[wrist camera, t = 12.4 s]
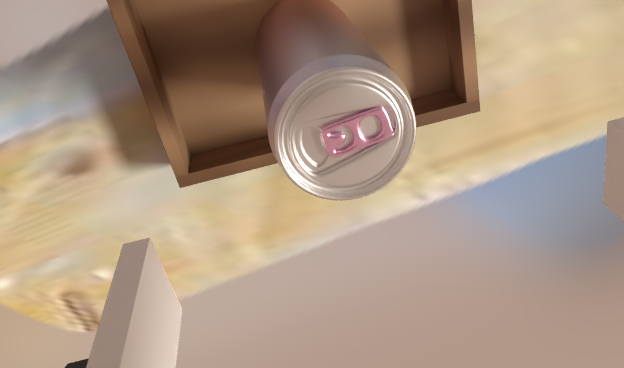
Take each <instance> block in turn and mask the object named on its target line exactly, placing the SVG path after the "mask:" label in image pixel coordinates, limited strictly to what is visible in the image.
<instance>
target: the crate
mask: <svg viewBox="0 0 624 368" xmlns="http://www.w3.org/2000/svg"><path fill="white" fill-rule="evenodd" d="M280 1H282V0H107V3H108V5H109V8H110V10H111V13H112V16H113V18H114V21H115V23H116V26H117V28H118V31H119V33H120V36H121V39H122V41H123V44H124V46H125V49H126V51H127V54H128V56H129V59H130V62H131V64H132V67H133V69H134V72H135V74H136V77H137V79H138V82H139V85H140V87H141V90H142V92H143V95H144V97H145V100H146V102H147V105H148V107H149V110H150V113H151V115H152V118H153V120H154V123H155V125H156V128H157V130H158V133H159V136H160V138H161V141H162V143H163V146H164V148H165V151H166V153H167V156H168V159H169V161H170V164H171V166H172V169H173V171H174V174H175V176H176V179H177V182H178V184H179V187H180V188H182V187H186V186H190V185H193V184H197V183H201V182H205V181H209V180H213V179H217V178H221V177H225V176H229V175H233V174H236V173H240V172H244V171H248V170H252V169H256V168H260V167H264V166H268V165H272V164H275V163H278V162H277V160H276V158H275V156H274V154H273V152H272V149H271V146H270V143H269V138H268V131H267V123H266V116H265V109H264V102H263V95H262V87H261V80H260V73H259V66H258V59H257V51H256V37H257V32H258V29H259V26H260V24H261V22H262V20H263V18H264V16H265V15H266V14H267V12H268V11H269V10H270V9H271V8H272V7H273V6H274V5H276V4H277V3H278V2H280ZM330 1H332V2H333V3H334V4H336V5H337V6H338V7H339V8H340V9H341V10H342V11H343V12H344V13H345V15H346V16H347V17H348V18H349V19H350V21H351V22H352V23H353V24H354V25H355V26H356V28H357V29H358V30H359V31H360V32H361V33H362V35H363V36H364V37H365V38H366V39H367V41H368V42H369V43H370V44H371V45H372V46H373V48H374V49H375V50H376V51H377V52H378V53H379V55H380V56H381V57H382V58H383V59H384V61H385V62H386V63H387V64H388V65H389V66H390V68H391V69H392V70H393V71H394V72H395V73H396V75H397V76H398V77H399V78H400V80H401V81H402V82H403V84H404V85H405V87H406V89H407V91H408V93H409V95H410V98H411V101H412V106H413V110H414V113H415V118H416V127H420V126H424V125H428V124H432V123H436V122H439V121H443V120H447V119H451V118H455V117H459V116H463V115H467V114H471V113H475V112H478V111H480V103H479V90H478V77H477V64H476V51H475V39H474V26H473V13H472V0H330Z"/></svg>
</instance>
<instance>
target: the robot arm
mask: <svg viewBox="0 0 624 368" xmlns="http://www.w3.org/2000/svg"><path fill="white" fill-rule="evenodd" d="M605 163H606V164H605V183H604V201H603V203H604V204H605V205H606V206H607V207H608V208H609V209H610V210H611V211H613V212H614V213H615V214H616V215H617V216H618V217H619V218H620V219H621V220H622V221H624V117H623V118H620V119H616V120H612V121H608V123H607V143H606V162H605ZM181 317H182V308H181V306H180V304H179V301H178V299H177V297H176V295H175V293H174V290H173V288H172V286H171V284H170V281H169V279H168V277H167V275H166V273H165V270H164V268H163V266H162V264H161V262H160V259H159V257H158V255H157V253H156V250H155V248H154V246H153V244H152V242H151V239H150V238H147V239H143V240H139V241H135V242H131V243H127V244H123V246H122V250H121V253H120V256H119V260H118V263H117V266H116V270H115V273H114V276H113V280H112V283H111V286H110V290H109V293H108V296H107V300H106V303H105V306H104V310H103V313H102V316H101V320H100V323H99V326H98V330H97V333H96V336H95V340H94V343H93V346H92V350H91V353H90V356H89V359H85V360H81V361H78V362H73V363H69V364H67V366H66V367H65V368H175V367H176V359H177V351H178V343H179V334H180V326H181Z"/></svg>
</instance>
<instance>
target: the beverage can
mask: <svg viewBox="0 0 624 368" xmlns="http://www.w3.org/2000/svg"><path fill="white" fill-rule="evenodd" d="M256 51H257V59H258V66H259V73H260V80H261V87H262V95H263V102H264V109H265V116H266V123H267V131H268V138H269V143H270V146H271V149H272V152H273V154H274V156H275V158H276V160H277V162H278V163H279V165H280V166H281V168H282V169H283V171H284V172H285V174H286V175H287V176H288V178H289V179H290V180H291V181H292V182H293V183H294V184H295V185H297V186H298V187H299V188H301V189H302V190H304V191H305V192H307V193H309V194H311V195H314V196H316V197H320V198H323V199H329V200H351V199H357V198H361V197H364V196H367V195H369V194H372V193H374V192H376V191H378V190H379V189H381V188H383V187H384V186H386V185H387V184H388V183H390V182H391V181H392V180H393V179H394V178H395V177H396V176H397V175H398V174H399V173H400V172H401V170H402V169H403V168H404V166H405V165H406V163H407V161H408V160H409V158H410V155H411V153H412V151H413V148H414V144H415V139H416V118H415V113H414V110H413V106H412V101H411V98H410V95H409V93H408V91H407V89H406V87H405V85H404V84H403V82H402V81H401V80H400V78H399V77H398V76H397V75H396V73H395V72H394V71H393V70H392V69H391V68H390V66H389V65H388V64H387V63H386V62H385V61H384V59H383V58H382V57H381V56H380V55H379V53H378V52H377V51H376V50H375V49H374V48H373V46H372V45H371V44H370V43H369V42H368V41H367V39H366V38H365V37H364V36H363V35H362V33H361V32H360V31H359V30H358V29H357V28H356V26H355V25H354V24H353V23H352V22H351V21H350V19H349V18H348V17H347V16H346V15H345V13H344V12H343V11H342V10H341V9H340V8H339V7H338V6H337V5H336V4H334V3H333V2H332V1H330V0H282V1H280V2H278V3H277V4H276V5H274V6H273V7H272V8H271V9H270V10H269V11H268V12H267V14H266V15H265V16H264V18H263V20H262V22H261V24H260V26H259V29H258V32H257V37H256Z"/></svg>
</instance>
